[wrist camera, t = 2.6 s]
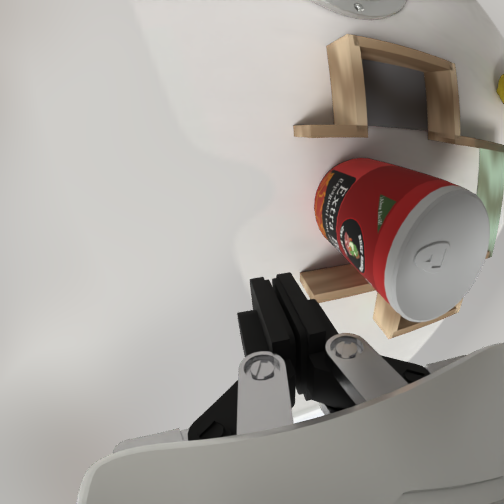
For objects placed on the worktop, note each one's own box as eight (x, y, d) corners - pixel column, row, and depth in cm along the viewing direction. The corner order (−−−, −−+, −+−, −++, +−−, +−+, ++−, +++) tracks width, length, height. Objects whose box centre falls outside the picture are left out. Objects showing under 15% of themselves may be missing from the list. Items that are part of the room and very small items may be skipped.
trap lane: (285, 43, 16) (300, 28, 12) (480, 85, 18) (503, 87, 15) (299, 336, 26) (310, 361, 23) (460, 289, 29) (477, 303, 25)
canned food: (304, 163, 20) (394, 201, 10) (392, 151, 20) (497, 181, 10) (315, 256, 23) (383, 344, 13) (394, 235, 23) (478, 297, 13)
